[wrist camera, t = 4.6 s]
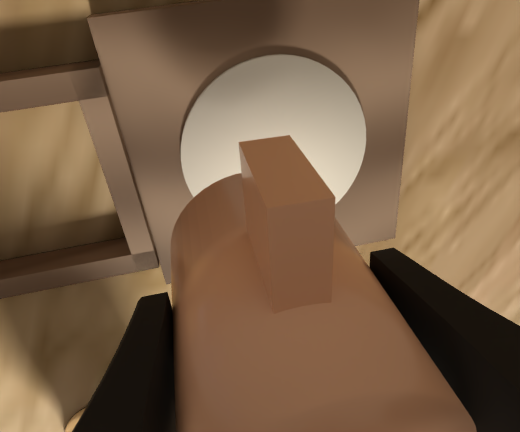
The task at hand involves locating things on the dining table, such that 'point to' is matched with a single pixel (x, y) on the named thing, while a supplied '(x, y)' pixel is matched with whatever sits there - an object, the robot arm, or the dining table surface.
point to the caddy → (227, 115)
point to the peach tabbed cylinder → (290, 314)
